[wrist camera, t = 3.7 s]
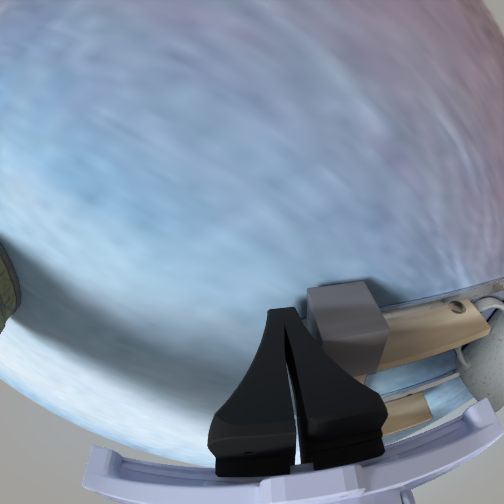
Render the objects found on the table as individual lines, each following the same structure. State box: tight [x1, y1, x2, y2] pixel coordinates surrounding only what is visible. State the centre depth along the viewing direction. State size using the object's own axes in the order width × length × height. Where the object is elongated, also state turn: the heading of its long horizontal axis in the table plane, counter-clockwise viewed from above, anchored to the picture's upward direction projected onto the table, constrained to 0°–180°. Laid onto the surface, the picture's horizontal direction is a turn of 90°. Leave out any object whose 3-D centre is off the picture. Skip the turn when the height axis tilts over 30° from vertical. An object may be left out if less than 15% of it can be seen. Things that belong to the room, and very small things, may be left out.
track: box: [294, 277, 504, 420], centre depth 18 cm, size 13×23×1 cm, turn 96°
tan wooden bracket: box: [307, 281, 491, 436], centre depth 15 cm, size 15×12×4 cm
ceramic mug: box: [454, 297, 504, 412], centre depth 14 cm, size 11×8×8 cm
